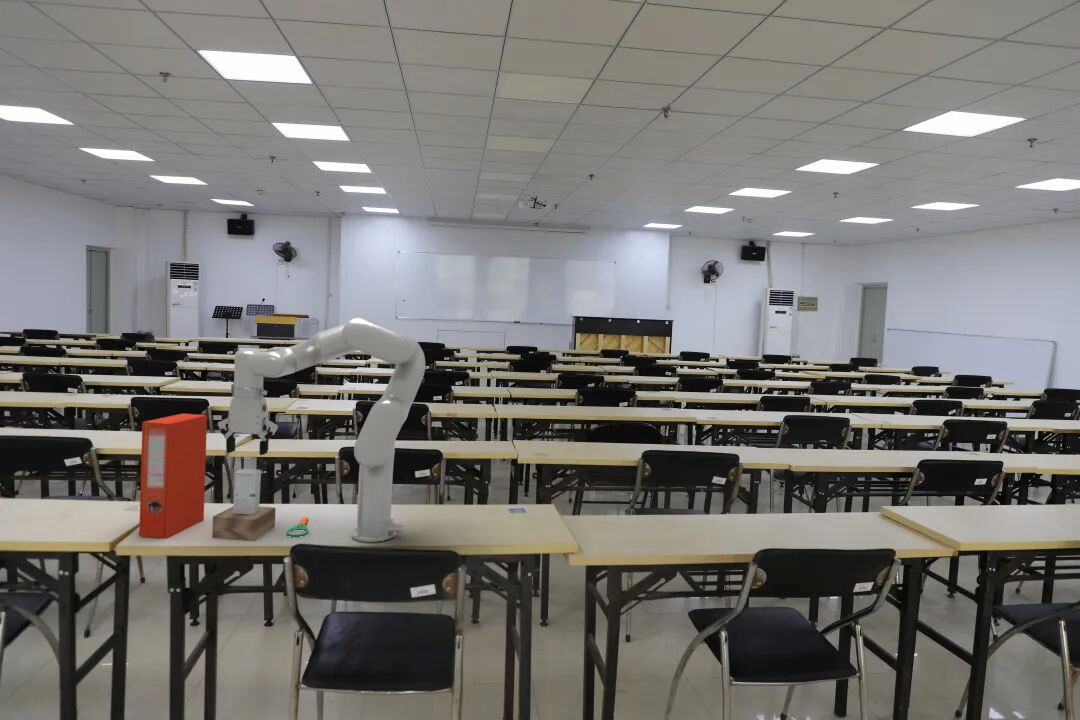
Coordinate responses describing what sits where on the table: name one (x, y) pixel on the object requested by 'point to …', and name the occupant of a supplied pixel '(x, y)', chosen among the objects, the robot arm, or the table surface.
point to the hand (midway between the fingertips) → (247, 453)
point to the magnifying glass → (303, 527)
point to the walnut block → (243, 524)
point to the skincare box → (247, 491)
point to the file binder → (172, 474)
